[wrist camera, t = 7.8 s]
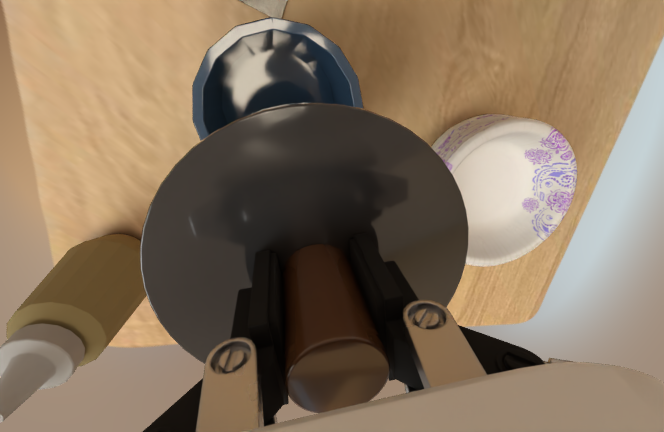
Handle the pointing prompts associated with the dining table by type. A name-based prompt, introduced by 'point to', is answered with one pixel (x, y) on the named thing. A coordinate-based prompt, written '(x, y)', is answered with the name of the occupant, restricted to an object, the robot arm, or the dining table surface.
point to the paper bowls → (509, 183)
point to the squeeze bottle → (70, 317)
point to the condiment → (268, 6)
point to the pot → (269, 73)
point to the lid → (303, 237)
